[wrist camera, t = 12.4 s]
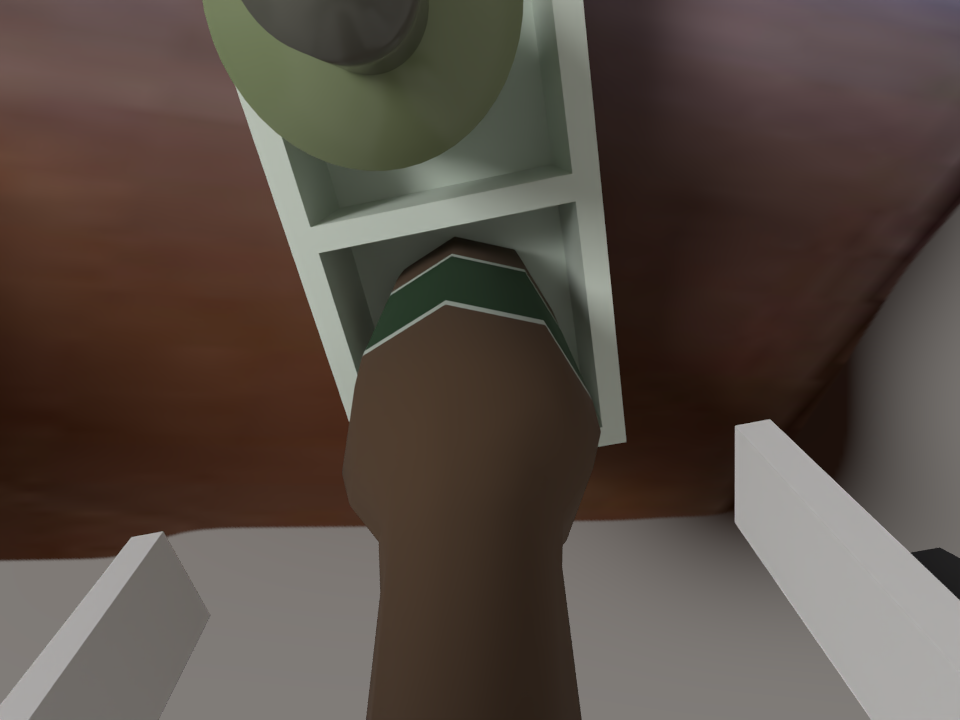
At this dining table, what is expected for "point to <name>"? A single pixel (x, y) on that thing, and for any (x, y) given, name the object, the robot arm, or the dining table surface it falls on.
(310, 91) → the olive bottle
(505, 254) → the beer bottle
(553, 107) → the caddy
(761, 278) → the dining table surface
